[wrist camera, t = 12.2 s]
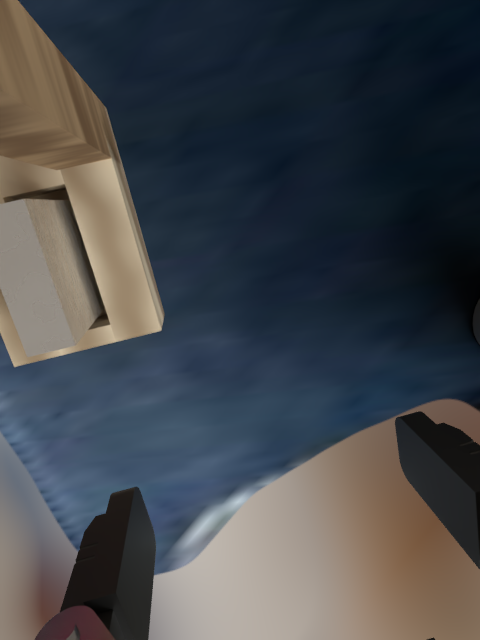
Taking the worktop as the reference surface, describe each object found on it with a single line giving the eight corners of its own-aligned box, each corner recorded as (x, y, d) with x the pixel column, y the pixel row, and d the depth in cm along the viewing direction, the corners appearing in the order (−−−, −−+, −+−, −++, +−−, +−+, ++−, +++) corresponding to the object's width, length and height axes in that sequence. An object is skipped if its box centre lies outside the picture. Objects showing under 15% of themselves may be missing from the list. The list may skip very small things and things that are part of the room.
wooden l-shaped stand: (106, 108, 34) (-174, -232, 8) (164, 313, 40) (120, 544, 13) (-42, 139, 34) (-927, -114, 7) (37, 344, 39) (-293, 658, 12)
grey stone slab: (76, 200, 35) (23, 198, 24) (109, 302, 38) (75, 345, 26) (40, 208, 35) (-31, 210, 23) (75, 310, 37) (27, 357, 26)
